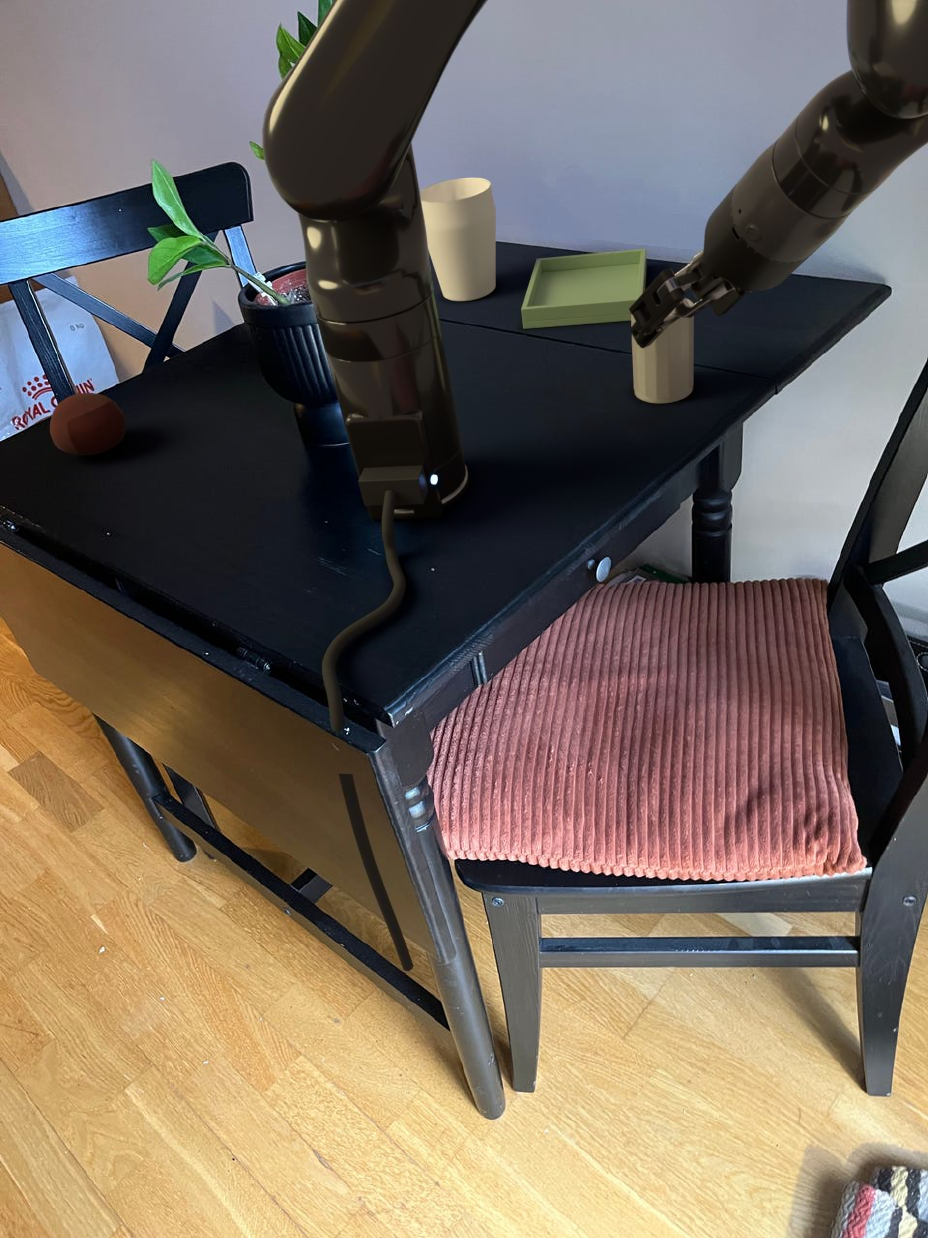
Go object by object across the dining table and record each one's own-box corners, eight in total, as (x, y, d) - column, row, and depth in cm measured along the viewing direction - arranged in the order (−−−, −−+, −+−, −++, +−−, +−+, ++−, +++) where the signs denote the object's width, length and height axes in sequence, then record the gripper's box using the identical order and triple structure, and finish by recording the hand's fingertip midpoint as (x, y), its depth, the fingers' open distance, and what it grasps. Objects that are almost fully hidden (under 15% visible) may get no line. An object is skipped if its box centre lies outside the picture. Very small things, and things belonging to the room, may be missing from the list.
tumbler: (693, 401, 85) (694, 318, 80) (633, 405, 86) (629, 323, 81) (692, 374, 89) (693, 293, 84) (635, 377, 90) (632, 298, 85)
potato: (76, 478, 92) (49, 425, 88) (53, 451, 98) (28, 400, 94) (144, 449, 95) (121, 396, 91) (118, 424, 101) (96, 373, 97)
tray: (642, 319, 100) (642, 298, 99) (523, 328, 103) (521, 308, 102) (646, 267, 111) (646, 248, 110) (538, 277, 114) (536, 258, 113)
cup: (495, 304, 110) (481, 199, 102) (424, 307, 112) (405, 205, 105) (512, 274, 116) (500, 173, 108) (444, 278, 119) (428, 180, 111)
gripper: (829, 139, 68) (719, 260, 84) (678, 195, 64) (591, 311, 80) (877, 227, 68) (758, 331, 83) (728, 288, 64) (632, 387, 79)
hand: (677, 321), depth 81 cm, fingers open, 8 cm apart
